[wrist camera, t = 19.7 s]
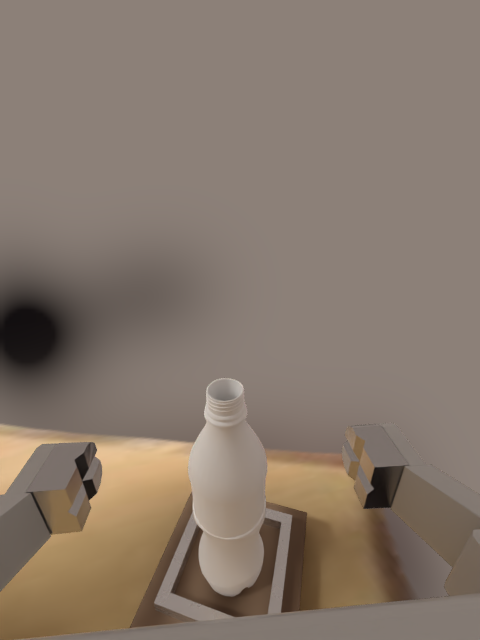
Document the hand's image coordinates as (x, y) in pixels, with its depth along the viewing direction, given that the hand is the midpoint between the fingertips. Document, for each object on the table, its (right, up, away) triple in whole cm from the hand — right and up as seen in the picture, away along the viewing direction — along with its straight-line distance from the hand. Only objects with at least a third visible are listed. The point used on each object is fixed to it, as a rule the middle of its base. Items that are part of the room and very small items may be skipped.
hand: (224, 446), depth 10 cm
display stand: (0, -27, +25) cm, 37 cm away
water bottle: (0, -24, +24) cm, 34 cm away
